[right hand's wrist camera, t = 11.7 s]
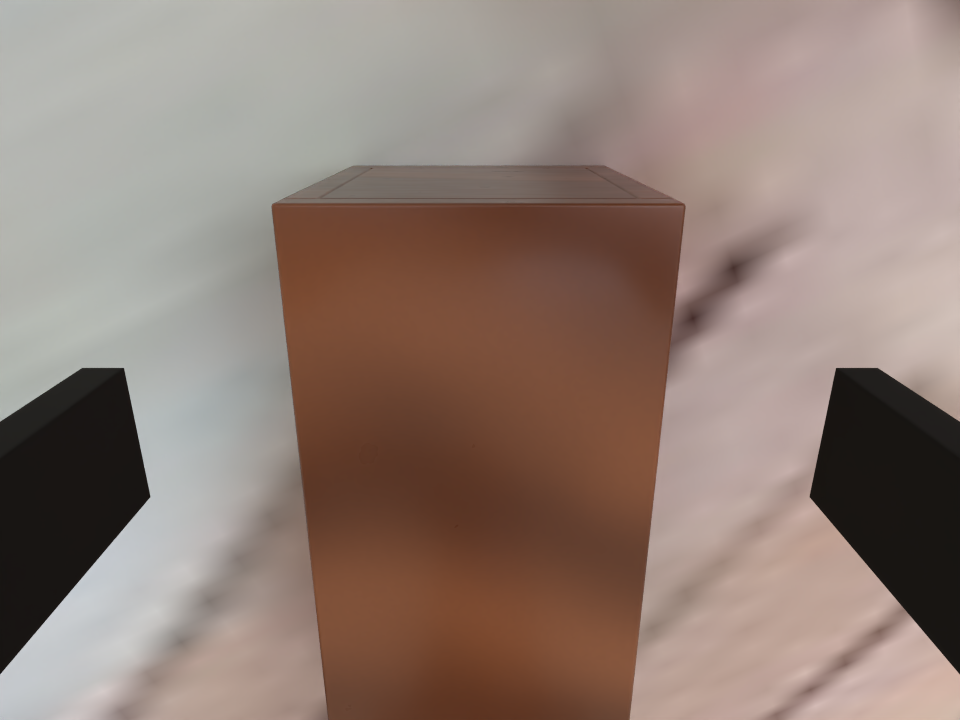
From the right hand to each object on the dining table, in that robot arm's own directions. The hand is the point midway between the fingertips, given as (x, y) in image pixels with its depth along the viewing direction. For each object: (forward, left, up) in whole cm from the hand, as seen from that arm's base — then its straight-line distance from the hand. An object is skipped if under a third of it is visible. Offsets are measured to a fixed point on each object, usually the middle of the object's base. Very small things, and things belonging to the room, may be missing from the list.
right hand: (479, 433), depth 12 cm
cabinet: (+3, +6, -17) cm, 19 cm away
